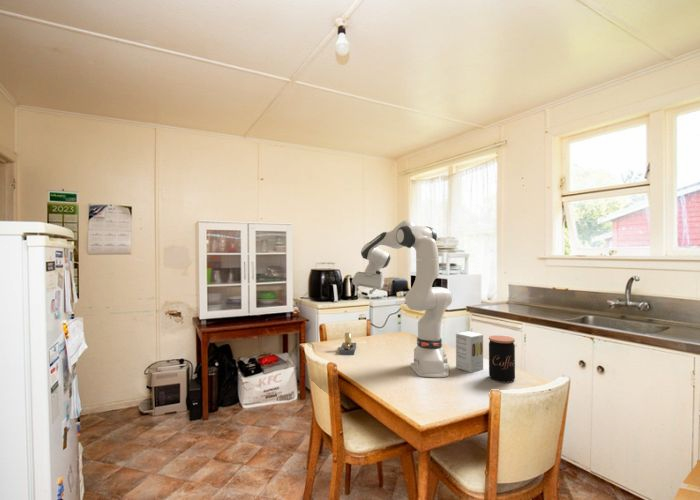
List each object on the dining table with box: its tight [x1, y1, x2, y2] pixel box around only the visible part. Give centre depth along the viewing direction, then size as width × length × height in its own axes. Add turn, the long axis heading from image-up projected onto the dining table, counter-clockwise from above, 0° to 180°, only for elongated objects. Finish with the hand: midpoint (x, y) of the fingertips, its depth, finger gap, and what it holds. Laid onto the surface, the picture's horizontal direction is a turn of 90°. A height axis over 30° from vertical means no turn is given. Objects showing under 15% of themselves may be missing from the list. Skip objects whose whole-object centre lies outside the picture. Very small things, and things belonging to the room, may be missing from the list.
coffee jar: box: [488, 335, 516, 383], centre depth 157 cm, size 11×11×18 cm
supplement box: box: [455, 330, 484, 373], centre depth 171 cm, size 10×9×17 cm
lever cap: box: [344, 332, 352, 348], centre depth 203 cm, size 4×4×10 cm
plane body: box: [339, 342, 357, 356], centre depth 203 cm, size 16×8×5 cm, turn 174°
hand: (363, 292), depth 213 cm, fingers open, 8 cm apart
